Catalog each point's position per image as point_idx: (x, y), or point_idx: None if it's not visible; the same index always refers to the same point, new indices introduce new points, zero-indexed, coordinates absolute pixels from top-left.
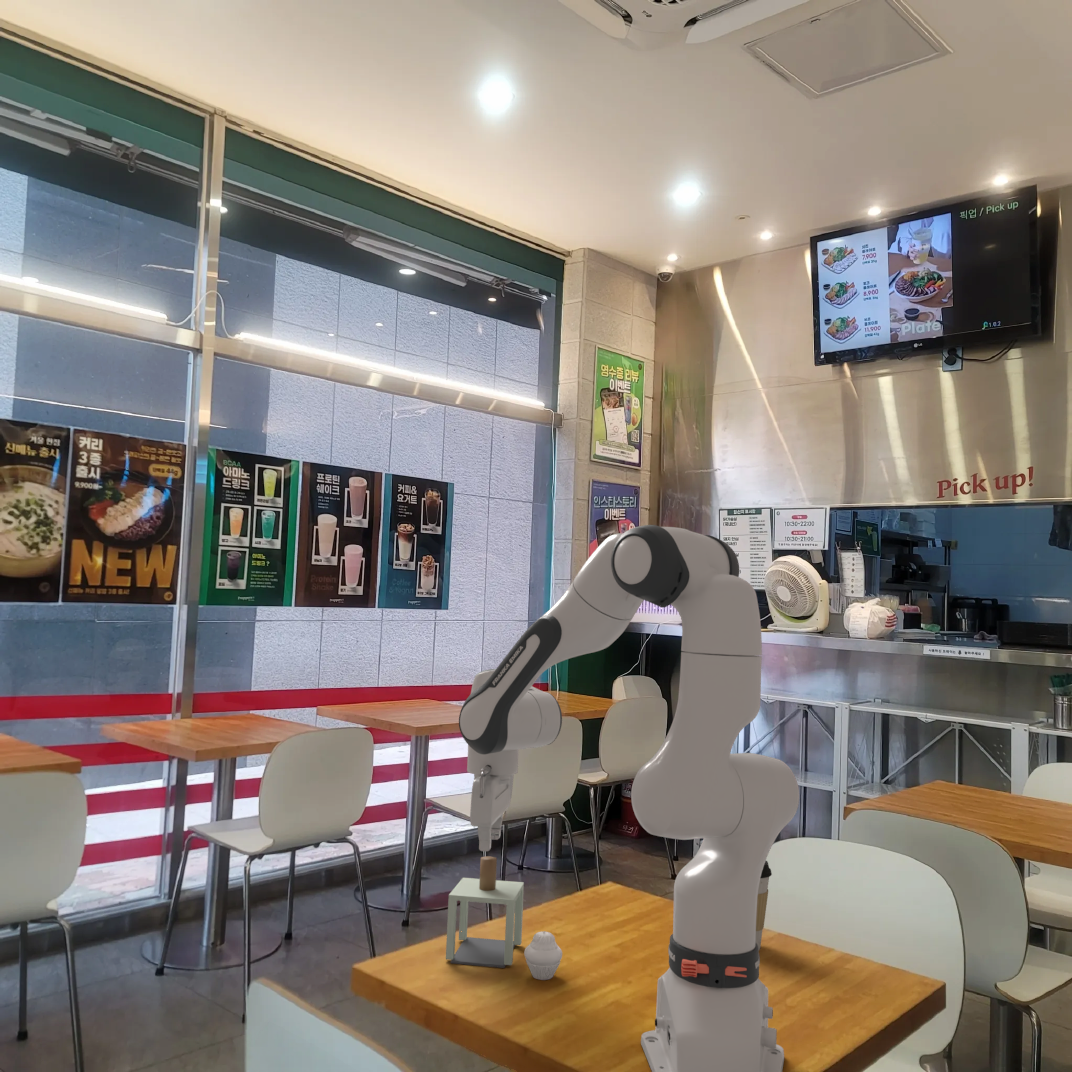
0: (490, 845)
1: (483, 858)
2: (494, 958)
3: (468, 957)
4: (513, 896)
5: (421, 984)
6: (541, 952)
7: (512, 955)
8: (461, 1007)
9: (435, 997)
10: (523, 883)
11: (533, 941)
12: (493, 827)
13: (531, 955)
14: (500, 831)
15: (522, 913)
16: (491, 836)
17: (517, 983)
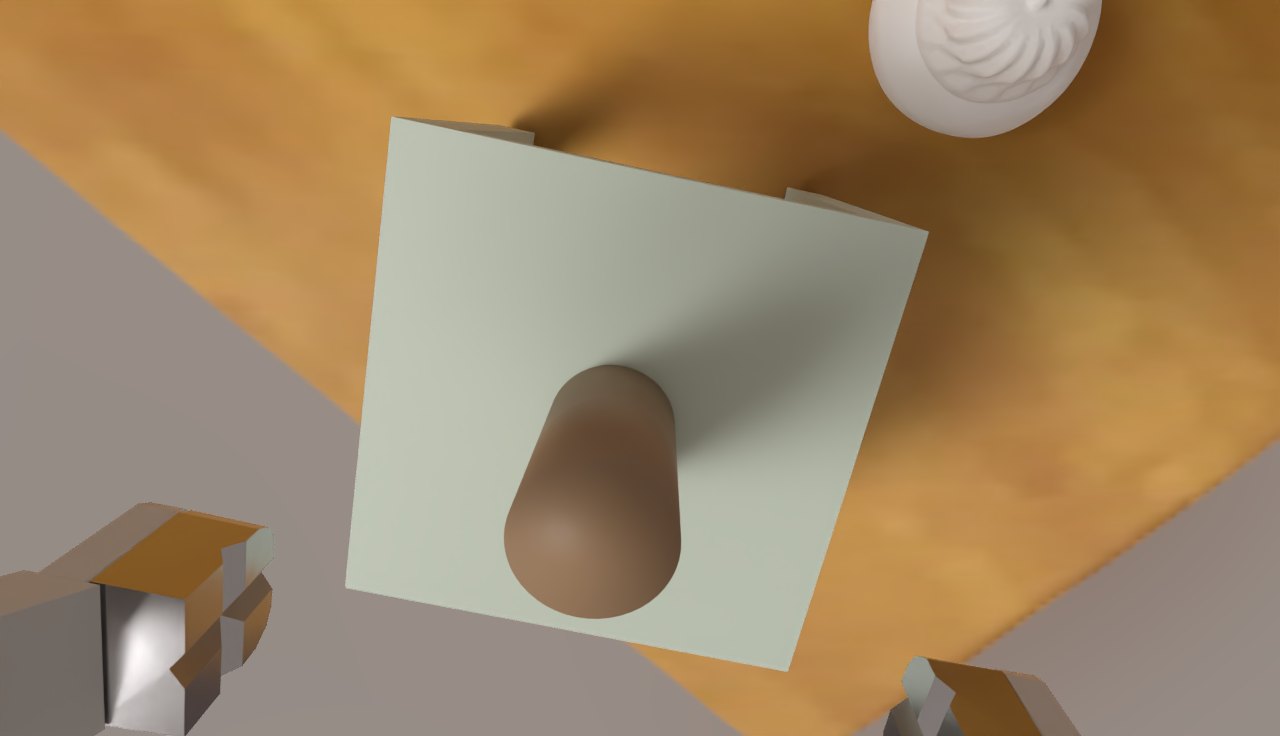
0: (996, 695)
1: (601, 592)
2: None
3: None
4: (824, 230)
5: (983, 560)
6: (1086, 36)
7: (801, 191)
8: (1238, 413)
9: (1121, 508)
10: (414, 121)
11: (1026, 81)
12: (95, 691)
13: (1055, 99)
14: (99, 543)
15: (467, 123)
16: (253, 632)
17: (1014, 171)
